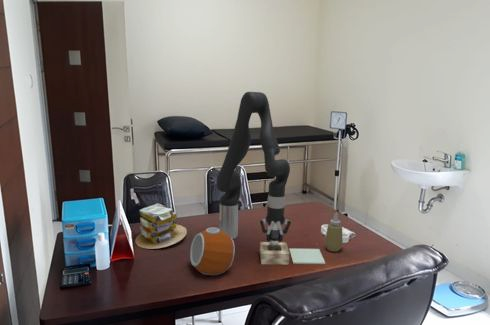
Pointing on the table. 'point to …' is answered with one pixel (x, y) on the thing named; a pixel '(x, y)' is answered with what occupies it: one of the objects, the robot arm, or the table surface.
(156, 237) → the package stack on board
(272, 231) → the steel peg
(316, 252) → the sage mat
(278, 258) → the eye block
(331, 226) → the squeeze bottle
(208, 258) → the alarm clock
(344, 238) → the white brass knuckles
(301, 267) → the table surface
